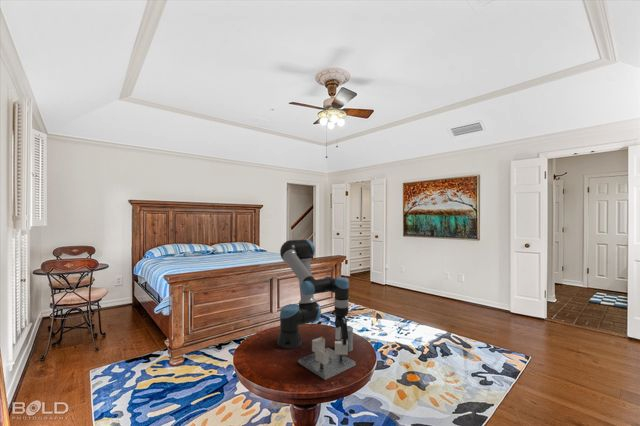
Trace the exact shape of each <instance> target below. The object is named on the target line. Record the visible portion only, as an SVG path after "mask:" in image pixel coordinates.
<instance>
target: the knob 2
mask: <svg viewBox="0 0 640 426" xmlns="http://www.w3.org/2000/svg"><path fill="white" fill-rule="evenodd" d="M334 351H335V354H338V355H339V359H340V360H342V359H343V355H344V356H348V354H349V352H348V342H347V350H345V351H342V350H341V341H336V340H335V341H334Z"/></svg>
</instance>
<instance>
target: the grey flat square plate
mask: <svg viewBox="0 0 640 426" xmlns="http://www.w3.org/2000/svg"><path fill="white" fill-rule="evenodd" d="M325 350H327V351H329V363H328V364H325V365H324V368H320V362H318V361H317V360H315V352H313V353H310V354H308V355H306V356H303V357H300V358H298V362H297V363H298V364H300V365H301V366H303V367H305V368H306V369H307V370H309V371H311V372H312V373H314V374H315V375H317V376H318V377H320V378H321V379H323V380H325V381H326V380H328V379H330V378H332V377H334V376H337V375H338V374H341V373H343V372H344V371H347V370H348V369H349V370H350V369H351V368H352V367H355V366H356V365H357V364H356V361H355V360H353V359H351V358H349V357H347V355H343V359H342V360H340V359H339V355H338V354H335V349H332V348H330V347H325Z"/></svg>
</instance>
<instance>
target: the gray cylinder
mask: <svg viewBox="0 0 640 426" xmlns="http://www.w3.org/2000/svg"><path fill="white" fill-rule="evenodd" d="M347 331H348V339H347V342H348V353H350V352H351V351H353V349H354V348H353V347H354V342H353V341H354V328H353V327H352V326H351V325H347ZM341 337H342V333H341V327H340V339H336V340H337V341H341V340H342V339H341Z"/></svg>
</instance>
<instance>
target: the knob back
mask: <svg viewBox="0 0 640 426" xmlns="http://www.w3.org/2000/svg"><path fill="white" fill-rule="evenodd" d="M318 347H321V348H323V349H326V338H324V336H320V337H317V338H315V339H312V340H311V352H313V353H315V348H318Z"/></svg>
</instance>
